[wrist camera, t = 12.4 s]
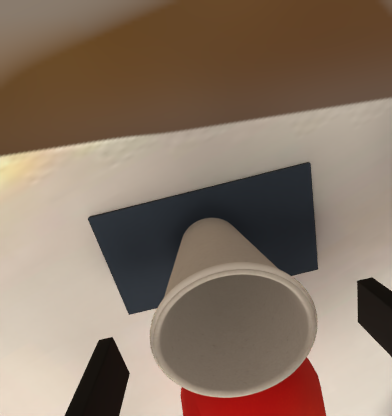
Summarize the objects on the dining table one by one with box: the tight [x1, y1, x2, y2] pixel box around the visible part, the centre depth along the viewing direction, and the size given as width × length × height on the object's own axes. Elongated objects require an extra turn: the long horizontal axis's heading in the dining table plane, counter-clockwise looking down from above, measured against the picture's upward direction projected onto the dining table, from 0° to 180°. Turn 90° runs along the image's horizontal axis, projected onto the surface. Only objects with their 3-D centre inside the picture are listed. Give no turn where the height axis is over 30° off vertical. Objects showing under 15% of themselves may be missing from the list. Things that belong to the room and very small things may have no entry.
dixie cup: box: [150, 218, 317, 398], centre depth 15 cm, size 8×8×10 cm
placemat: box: [88, 163, 318, 315], centre depth 20 cm, size 20×11×1 cm, turn 104°
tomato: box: [181, 357, 326, 416], centre depth 19 cm, size 13×12×11 cm
